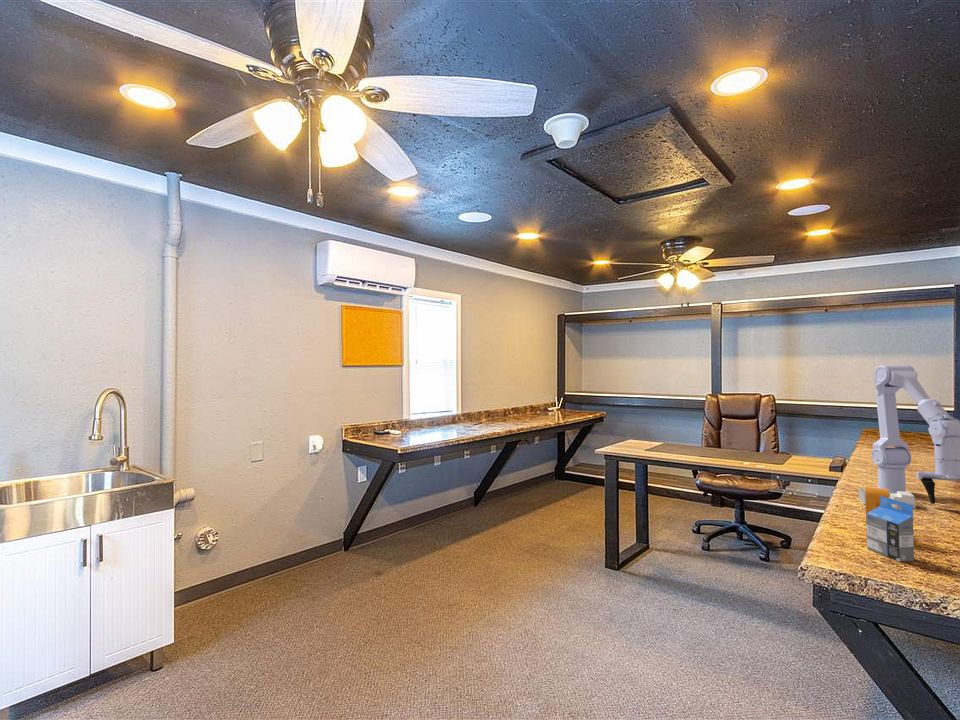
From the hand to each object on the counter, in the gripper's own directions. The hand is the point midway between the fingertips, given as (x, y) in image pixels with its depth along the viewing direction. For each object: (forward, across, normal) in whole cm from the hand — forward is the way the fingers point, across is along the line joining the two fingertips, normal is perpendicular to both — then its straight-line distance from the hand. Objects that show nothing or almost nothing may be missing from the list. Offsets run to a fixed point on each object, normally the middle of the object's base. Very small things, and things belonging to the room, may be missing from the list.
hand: (949, 504), depth 156 cm
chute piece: (+2, -11, 0) cm, 11 cm away
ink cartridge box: (+2, -25, -57) cm, 62 cm away
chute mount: (+1, -18, 0) cm, 18 cm away
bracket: (+2, -23, -41) cm, 47 cm away
